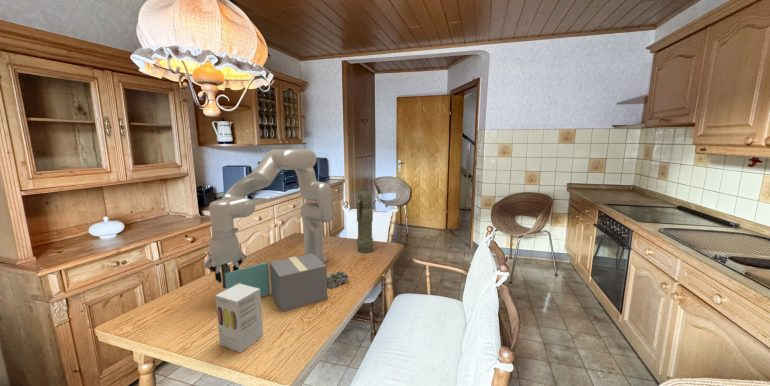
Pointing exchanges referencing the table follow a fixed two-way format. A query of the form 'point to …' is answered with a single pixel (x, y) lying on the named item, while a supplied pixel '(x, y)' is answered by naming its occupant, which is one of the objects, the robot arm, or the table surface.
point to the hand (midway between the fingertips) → (227, 278)
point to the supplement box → (239, 317)
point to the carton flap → (247, 277)
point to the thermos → (364, 221)
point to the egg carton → (336, 279)
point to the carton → (298, 281)
